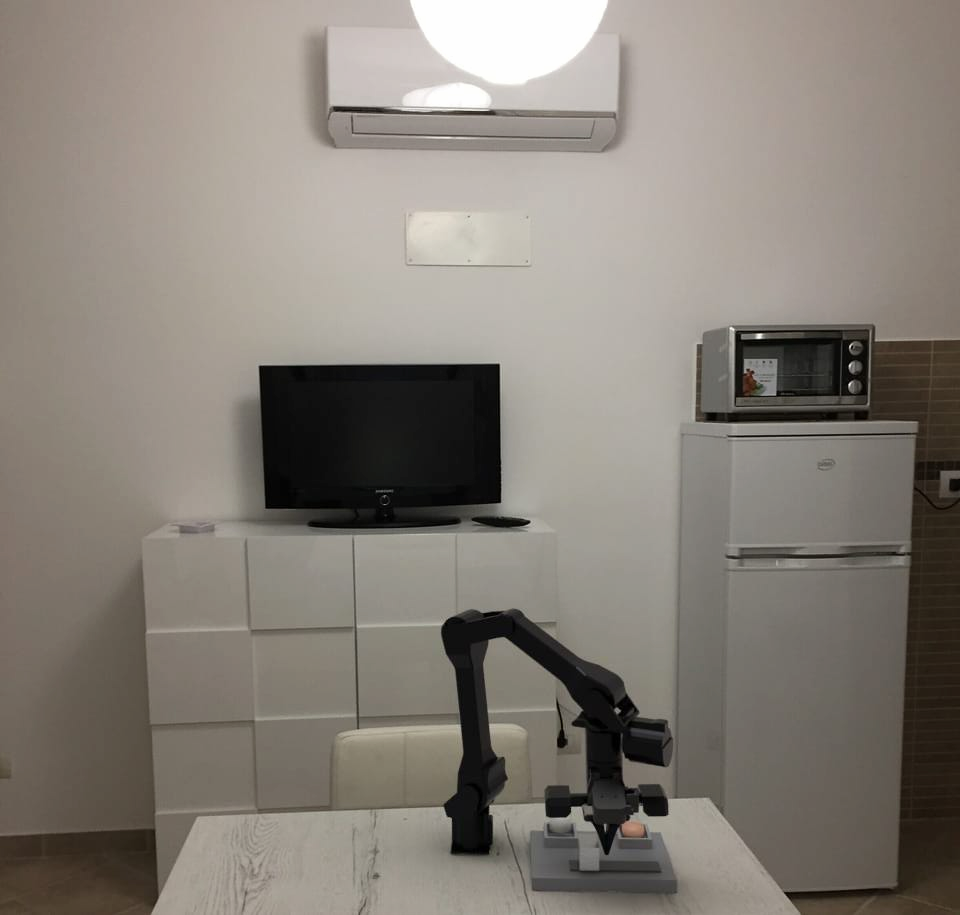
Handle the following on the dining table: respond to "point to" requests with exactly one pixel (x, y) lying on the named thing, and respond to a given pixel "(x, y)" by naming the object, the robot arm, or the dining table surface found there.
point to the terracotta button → (632, 830)
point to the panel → (601, 863)
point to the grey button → (560, 824)
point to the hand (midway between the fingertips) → (606, 853)
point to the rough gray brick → (588, 852)
